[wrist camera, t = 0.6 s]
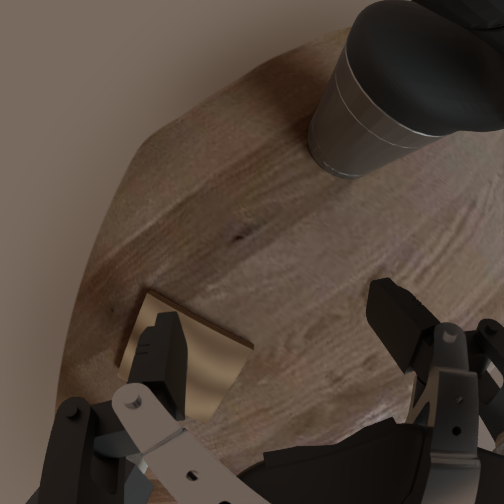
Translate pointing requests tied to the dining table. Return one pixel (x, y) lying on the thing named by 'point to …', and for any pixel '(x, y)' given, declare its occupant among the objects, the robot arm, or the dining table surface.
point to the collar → (125, 486)
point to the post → (194, 358)
